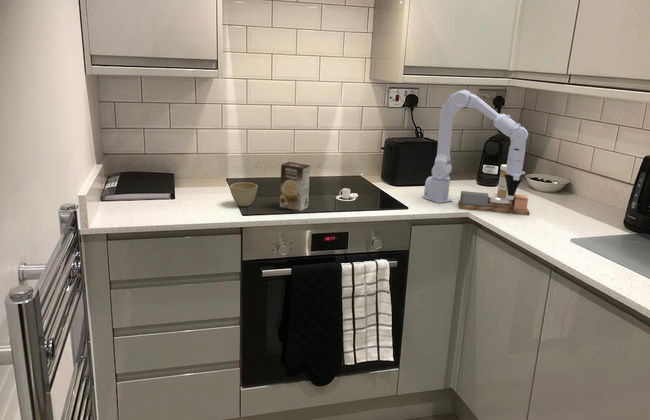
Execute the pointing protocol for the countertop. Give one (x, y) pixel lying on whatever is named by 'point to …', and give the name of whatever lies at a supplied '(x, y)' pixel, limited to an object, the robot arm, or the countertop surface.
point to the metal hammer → (502, 200)
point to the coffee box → (294, 186)
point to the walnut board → (495, 209)
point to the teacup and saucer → (347, 195)
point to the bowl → (243, 193)
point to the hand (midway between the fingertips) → (510, 194)
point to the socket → (520, 202)
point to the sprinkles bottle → (502, 183)
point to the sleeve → (474, 199)
